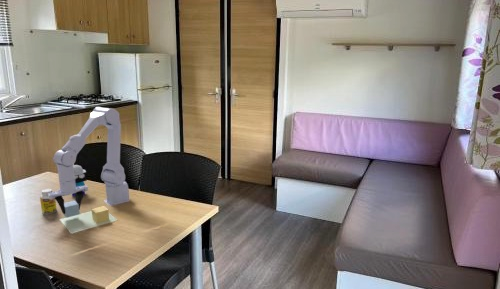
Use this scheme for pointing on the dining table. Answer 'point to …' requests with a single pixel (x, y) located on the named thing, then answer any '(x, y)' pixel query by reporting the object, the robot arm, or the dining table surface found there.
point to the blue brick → (71, 208)
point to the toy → (79, 176)
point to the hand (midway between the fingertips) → (71, 211)
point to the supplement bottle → (47, 202)
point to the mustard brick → (100, 214)
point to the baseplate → (83, 222)
